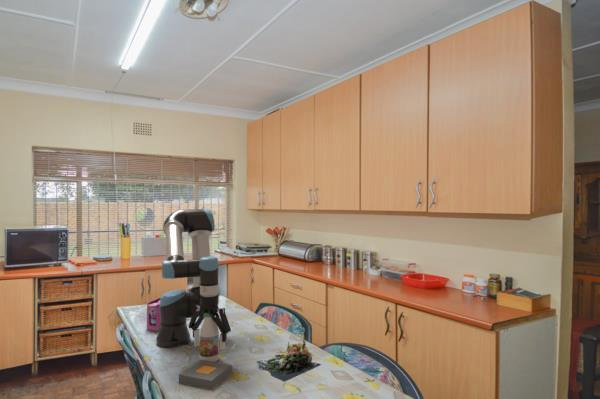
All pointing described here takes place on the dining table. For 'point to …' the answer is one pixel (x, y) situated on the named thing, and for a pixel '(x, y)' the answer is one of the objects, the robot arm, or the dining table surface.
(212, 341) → the milk bottle
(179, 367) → the dining table surface
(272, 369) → the plated dish
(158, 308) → the gum box
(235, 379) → the dining table surface
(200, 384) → the grey square slab
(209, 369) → the button
